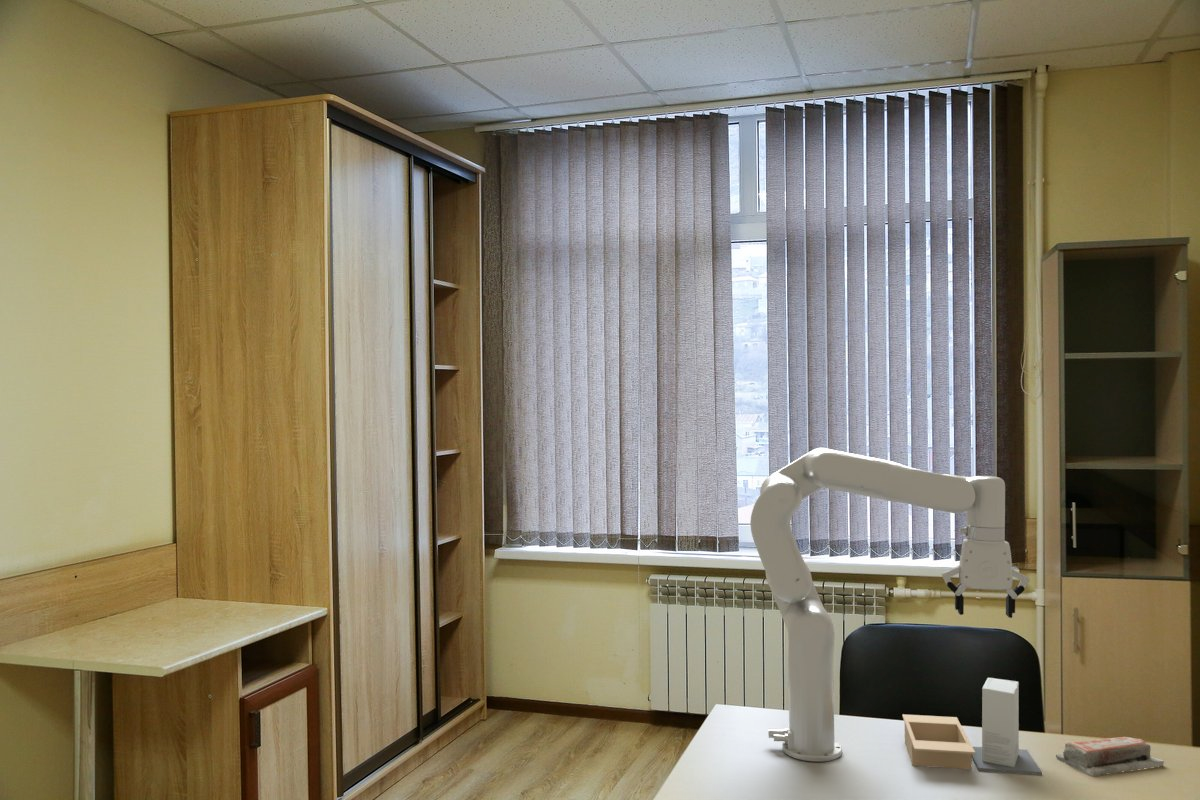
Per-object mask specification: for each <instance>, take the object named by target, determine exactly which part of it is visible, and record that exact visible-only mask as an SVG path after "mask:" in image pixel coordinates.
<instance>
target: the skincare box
mask: <svg viewBox="0 0 1200 800" xmlns="http://www.w3.org/2000/svg"><path fill="white" fill-rule="evenodd" d="M1019 685H1020V683H1019V681H1016V680H1009V679H1002V678H994V677H987V678H986V680H985V682H984V684H983V686H982V688H981V690H982V691H981V693H982V694H981V695H982V696H981V700H982V701H981V703H982V707H981V708H982V709H981V710H982V711H981V714H982V715H981V719H982V720H981V725H982V726H981V728H982V729H981V739H982V740H981V747H982V761H983V762H987V763H993V764H998V765H1004V766H1009V767H1014V766H1015V764H1016V761H1017V758H1018V755H1019V749H1020V746H1019V745H1020V744H1019V737H1020V736H1019V729H1020V728H1019V727H1020V723H1019V715H1020V714H1019V710H1020V709H1019V702H1020V701H1019V693H1020V692H1019V691H1020V690H1019Z"/></svg>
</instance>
